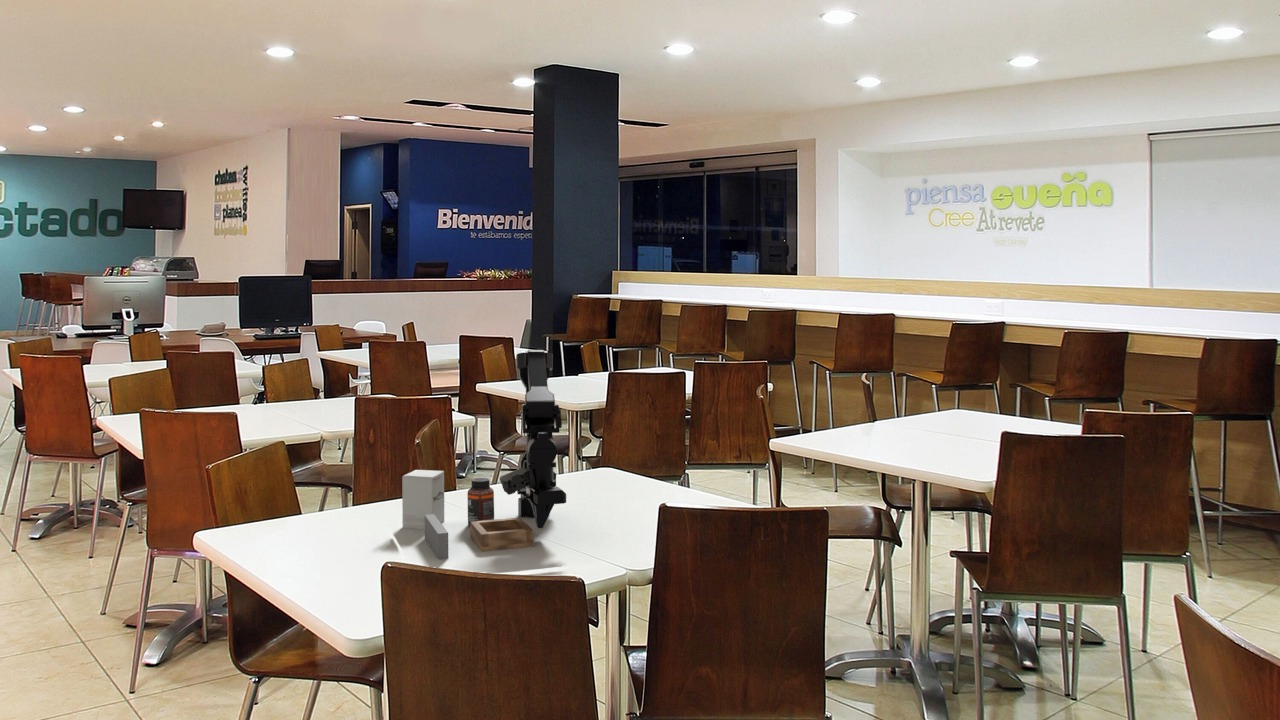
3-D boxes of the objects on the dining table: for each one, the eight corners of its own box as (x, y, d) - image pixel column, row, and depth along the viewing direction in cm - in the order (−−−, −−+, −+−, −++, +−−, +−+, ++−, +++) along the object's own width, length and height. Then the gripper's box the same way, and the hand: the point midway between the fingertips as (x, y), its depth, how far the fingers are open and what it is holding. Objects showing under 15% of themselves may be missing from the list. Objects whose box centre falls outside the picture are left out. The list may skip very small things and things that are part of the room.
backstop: (521, 533, 223) (521, 506, 222) (541, 552, 208) (541, 524, 208) (424, 542, 215) (424, 514, 215) (438, 563, 200) (438, 533, 200)
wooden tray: (519, 532, 220) (519, 517, 220) (533, 546, 210) (533, 529, 210) (470, 537, 216) (470, 521, 216) (481, 551, 206) (481, 534, 206)
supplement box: (432, 533, 223) (432, 477, 221) (401, 530, 224) (400, 475, 223) (445, 524, 230) (445, 470, 229) (415, 522, 231) (414, 468, 230)
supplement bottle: (499, 526, 229) (498, 477, 227) (486, 533, 223) (486, 483, 222) (475, 524, 230) (475, 475, 229) (462, 530, 225) (462, 480, 224)
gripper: (492, 451, 220) (493, 520, 222) (514, 467, 203) (514, 542, 204) (541, 448, 224) (541, 516, 226) (567, 463, 207) (567, 537, 209)
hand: (540, 528), depth 216 cm, fingers closed
